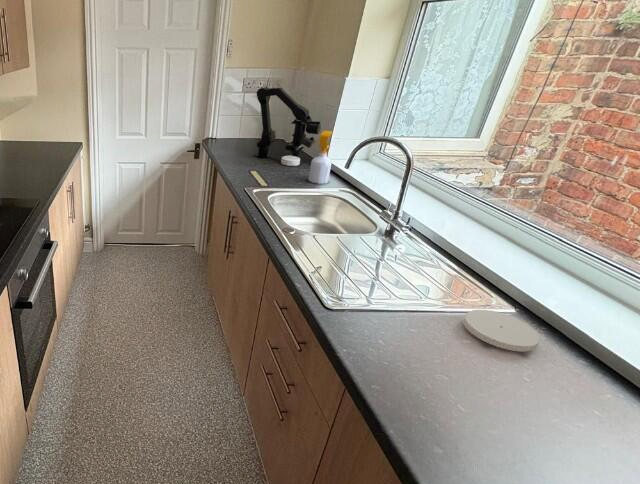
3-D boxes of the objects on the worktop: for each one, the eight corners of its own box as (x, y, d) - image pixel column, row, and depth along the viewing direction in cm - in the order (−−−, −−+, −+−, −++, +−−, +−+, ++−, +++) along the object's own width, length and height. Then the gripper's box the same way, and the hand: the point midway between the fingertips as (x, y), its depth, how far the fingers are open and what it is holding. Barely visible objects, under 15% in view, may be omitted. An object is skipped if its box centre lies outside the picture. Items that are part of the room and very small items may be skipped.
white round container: (302, 166, 230) (303, 160, 228) (283, 166, 230) (284, 160, 229) (296, 161, 239) (297, 155, 237) (278, 161, 239) (279, 155, 238)
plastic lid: (552, 352, 95) (557, 343, 94) (496, 357, 94) (500, 348, 93) (497, 315, 108) (501, 307, 106) (447, 319, 106) (451, 311, 105)
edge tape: (250, 171, 223) (250, 171, 223) (255, 171, 223) (255, 171, 223) (261, 185, 202) (261, 185, 202) (267, 185, 202) (267, 185, 201)
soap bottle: (330, 180, 207) (340, 131, 196) (323, 185, 201) (333, 134, 190) (312, 177, 212) (321, 128, 201) (305, 181, 206) (314, 131, 195)
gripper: (307, 137, 220) (302, 165, 227) (320, 131, 232) (315, 158, 239) (287, 134, 227) (283, 162, 234) (300, 128, 239) (296, 155, 246)
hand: (295, 159), depth 238 cm, fingers closed
